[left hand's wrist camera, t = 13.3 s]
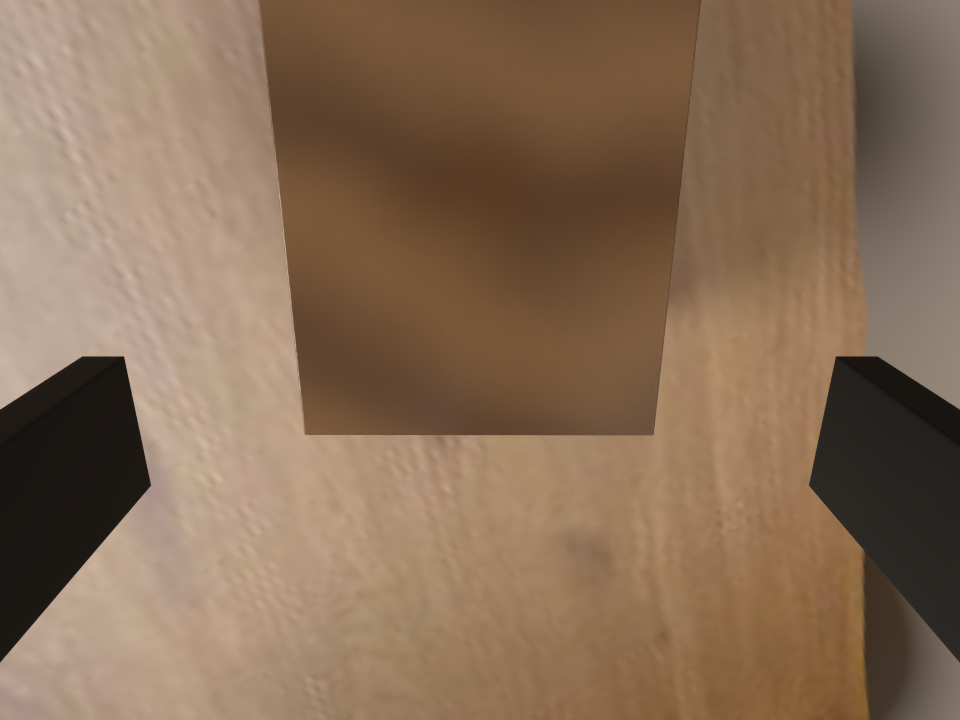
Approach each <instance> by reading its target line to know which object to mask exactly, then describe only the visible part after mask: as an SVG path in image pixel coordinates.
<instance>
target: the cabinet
mask: <svg viewBox="0 0 960 720" xmlns="http://www.w3.org/2000/svg"><path fill="white" fill-rule="evenodd" d="M258 1H259V10H260V20H261V29H262V39H263V48H264V58H265V67H266V77H267V86H268V95H269V105H270V114H271V124H272V133H273V143H274V152H275V162H276V171H277V180H278V190H279V199H280V209H281V218H282V228H283V237H284V247H285V256H286V265H287V275H288V284H289V294H290V303H291V313H292V322H293V332H294V341H295V350H296V360H297V369H298V379H299V388H300V398H301V407H302V417H303V426H304V434H305V435H653V434H654V426H655V417H656V408H657V398H658V389H659V380H660V371H661V361H662V352H663V343H664V334H665V325H666V315H667V306H668V297H669V288H670V278H671V269H672V260H673V251H674V242H675V232H676V223H677V214H678V205H679V196H680V186H681V177H682V168H683V159H684V149H685V140H686V131H687V122H688V113H689V103H690V94H691V85H692V76H693V67H694V57H695V48H696V39H697V30H698V20H699V11H700V2H701V0H258Z"/></svg>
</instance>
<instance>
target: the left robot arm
mask: <svg viewBox="0 0 960 720" xmlns="http://www.w3.org/2000/svg"><path fill="white" fill-rule="evenodd" d="M150 486H151V483H150V478H149V474H148V469H147V464H146V459H145V455H144V450H143V445H142V440H141V435H140V431H139V426H138V421H137V416H136V412H135V407H134V402H133V397H132V392H131V388H130V383H129V378H128V373H127V369H126V364H125V359H124V357H81V358H79V359H78V360H76V361H75V362H73V363H72V364H70V365H69V366H67V367H65V368H64V369H62V370H61V371H59V372H58V373H56V374H55V375H53V376H52V377H50V378H48V379H47V380H45V381H44V382H42V383H41V384H39V385H38V386H36V387H35V388H33V389H31V390H30V391H28V392H27V393H25V394H24V395H22V396H21V397H19V398H18V399H16V400H14V401H13V402H11V403H10V404H8V405H7V406H5V407H4V408H2V409H1V410H0V662H1V661H2V660H3V659H4V657H5V656H6V655H7V654H8V653H9V651H10V650H11V649H12V648H13V647H14V646H15V644H16V643H17V642H18V641H19V640H20V639H21V637H22V636H23V635H24V634H25V633H26V632H27V630H28V629H29V628H30V627H31V626H32V624H33V623H34V622H35V621H36V620H37V619H38V617H39V616H40V615H41V614H42V613H43V612H44V610H45V609H46V608H47V607H48V606H49V605H50V603H51V602H52V601H53V600H54V599H55V598H56V596H57V595H58V594H59V593H60V592H61V590H62V589H63V588H64V587H65V586H66V585H67V583H68V582H69V581H70V580H71V579H72V578H73V576H74V575H75V574H76V573H77V572H78V571H79V569H80V568H81V567H82V566H83V565H84V563H85V562H86V561H87V560H88V559H89V558H90V556H91V555H92V554H93V553H94V552H95V551H96V549H97V548H98V547H99V546H100V545H101V544H102V542H103V541H104V540H105V539H106V538H107V537H108V535H109V534H110V533H111V532H112V531H113V529H114V528H115V527H116V526H117V525H118V524H119V522H120V521H121V520H122V519H123V518H124V517H125V515H126V514H127V513H128V512H129V511H130V510H131V508H132V507H133V506H134V505H135V504H136V502H137V501H138V500H139V499H140V498H141V497H142V495H143V494H144V493H145V492H146V491H147V490H148V488H149V487H150ZM809 486H810V487H811V488H812V490H813V491H814V492H815V493H816V494H817V495H818V497H819V498H820V499H821V500H822V501H823V502H824V504H825V505H826V506H827V507H828V508H829V510H830V511H831V512H832V513H833V514H834V515H835V517H836V518H837V519H838V520H839V521H840V522H841V524H842V525H843V526H844V527H845V528H846V529H847V531H848V532H849V533H850V534H851V535H852V537H853V538H854V539H855V540H856V541H857V542H858V544H859V545H860V546H861V547H862V548H863V549H864V551H865V552H866V553H867V554H868V555H869V556H870V558H871V559H872V560H873V561H874V562H875V563H876V565H877V566H878V567H879V568H880V569H881V571H882V572H883V573H884V574H885V575H886V576H887V578H888V579H889V580H890V581H891V582H892V583H893V585H894V586H895V587H896V588H897V589H898V590H899V592H900V593H901V594H902V595H903V596H904V597H905V599H906V600H907V601H908V602H909V603H910V605H911V606H912V607H913V608H914V609H915V610H916V612H917V613H918V614H919V615H920V616H921V617H922V619H923V620H924V621H925V622H926V623H927V624H928V626H929V627H930V628H931V629H932V630H933V632H934V633H935V634H936V635H937V636H938V637H939V639H940V640H941V641H942V642H943V643H944V644H945V646H946V647H947V648H948V649H949V650H950V651H951V653H952V654H953V655H954V656H955V657H956V658H957V660H958V661H959V662H960V410H959V409H958V408H956V407H955V406H953V405H952V404H950V403H949V402H947V401H946V400H944V399H942V398H941V397H939V396H938V395H936V394H935V393H933V392H932V391H930V390H929V389H927V388H925V387H924V386H922V385H921V384H919V383H918V382H916V381H915V380H913V379H912V378H910V377H908V376H907V375H905V374H904V373H902V372H901V371H899V370H898V369H896V368H895V367H893V366H891V365H890V364H888V363H887V362H885V361H884V360H882V359H881V358H879V357H836V359H835V364H834V369H833V373H832V378H831V383H830V388H829V392H828V397H827V402H826V407H825V412H824V416H823V421H822V426H821V431H820V435H819V440H818V445H817V450H816V455H815V459H814V464H813V469H812V474H811V478H810V483H809Z"/></svg>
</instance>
